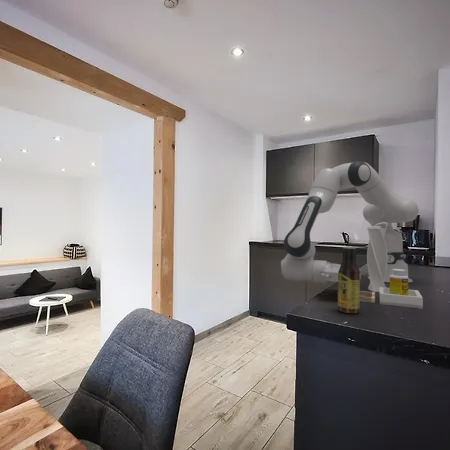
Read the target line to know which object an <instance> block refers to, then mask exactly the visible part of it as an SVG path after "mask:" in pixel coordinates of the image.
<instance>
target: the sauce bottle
mask: <svg viewBox="0 0 450 450" xmlns="http://www.w3.org/2000/svg"><path fill="white" fill-rule="evenodd" d="M357 250H358V249H357V247H354V246H353V247H352V246H343V247H342V249H341V251H342V261H341V264H340V265H341V266H340V269H339V272H338V282H337V307H338V308H337V310H338V311H340V312H341V313H344V314H359V312H360V306H361V305H360V302H361V301H360V291H361V279H360V270H361V269H360V268H359V266H358V264H357Z"/></svg>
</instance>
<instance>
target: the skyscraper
mask: <svg viewBox="0 0 450 450" xmlns="http://www.w3.org/2000/svg"><path fill="white" fill-rule="evenodd" d="M379 224H387V225H386V228H381V226H377V225H379ZM387 226H388V223H386V222H382V223H378V224H376V225H375V226H368V227H367V228H366V229H367V233H368V238H369V240H368V245H367V249H366V250H367V251H366V263H367V272H368V276H369V278H370V279H369V285H368V287H367V290H369V291H370V292H375V293H377V292H378V293H380V288H379V287H384V288H387V286H386V284H385V282H384V280H385V275H386V270H387V262H388V254H387V246H386V242H385V239H384V237H385V233H386V229H387Z"/></svg>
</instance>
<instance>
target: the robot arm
mask: <svg viewBox="0 0 450 450" xmlns="http://www.w3.org/2000/svg"><path fill="white" fill-rule="evenodd" d="M351 188H353V189H354V188H355V189H356V191H357V192H358V194H359V195H360V196H361V197H362V199H363V200H364V201H365V202H366V203H367V204H365V206H364V208H363V210H362V216H363V218H364V220H366V221H367V222H368V223H369V224H370V227H372V226H375V225H376V224H378V223H382V222H386V223H388V226H387V229H386V233H385V237H384V239H385V242H386V246H387V254H388V262H387V270H386V275H385V280H384V283H390V275H392V269H403V270H406V276H408V283H414V281H413V279H412V278H409V268H408V267H409V266H408V263H407V262H405V260H404V259H405V253H404V251H403V249H404V248H403V247H404V246H403V243H404V242H403V235H402V234H401V233H400V232H399V231H396V230H395V229H394V227H393V225H392V224H403V223H407V222H409V223H410V222H413V221H414V220H416V219H417V217H418V215H419V212H420V209H419V206H418V204H417V202H415V201H414V200H412V199H409V198H405V197H403V196H401V195H400V194H398V193H396V192H395V191H393V190H392V189H391V188H390V187H388V185H387V183H385V181H384V180H383V179H382V177H381V176H380V174H379V173H378V172H377V171H376V170H375V169H374V168H373V167H372V166H371V165H370V164H369V163H368V162H365V161H357V160H356V161H353V162H348V163H347V162H346V163H341V164H340V165H337V166H331V167H330V168H329V167H327V168H325V167H324V168H323V169H321V170H320V171H319V172H318V173H317V175H316V176H315V178H314V181H313V183H312V184H311V187H310V190H309V192H308V195H307V198H306V201H305V202H304V204H303V207H302V208H301V211H300V213H299V215H298V217H297V219H296V222H295V223H294V226H293V227H292V229H291V230H290V231H288V233H287V234H286V235H285V237H284V239H283V247H284V250H285V251H286V253H287V254H286V255H285V257H284V258H283V259H281V260H280V266H279V267H280V272H281V275H282V276H283V277H284V279H286V280H287V281H288V280H289V281H295V282H311V283H315V284H325V285H327V283H328V282H334V283H338V272H339V269H340V266H341V264H338V263H332V262H330V261H327V260H318V259H315V255H316V247H315V244H314V242H313V241H312V240H311V230H313V229H312V228H313V227H314V224H315V223H316V220H317V217H318V215H320V214H324V213H327V212H329V211H330V210H331V208H332V207H333V205H334V203H335V201H336V199H337V196H338V193H339V190H348V189H351ZM386 225H387V224H379V225H377V226H381V228H386ZM359 270H360V280H361V279H362V275H363V271H362V270H361V269H359ZM367 279H368V280H370V278H369V275H368V276H367Z"/></svg>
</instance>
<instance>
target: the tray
mask: <svg viewBox="0 0 450 450" xmlns="http://www.w3.org/2000/svg"><path fill="white" fill-rule="evenodd" d="M379 288H380V292H379V305H385V306H393V307H402V308H403V307H404V308H411V309H420V310H424V308H423V307H424V302H423V301H424V299H423V296H422V295H421V293H420V291H419V290H417V289H408V296H406V295H395V294H390V287H386V288H384V287H379Z"/></svg>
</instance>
